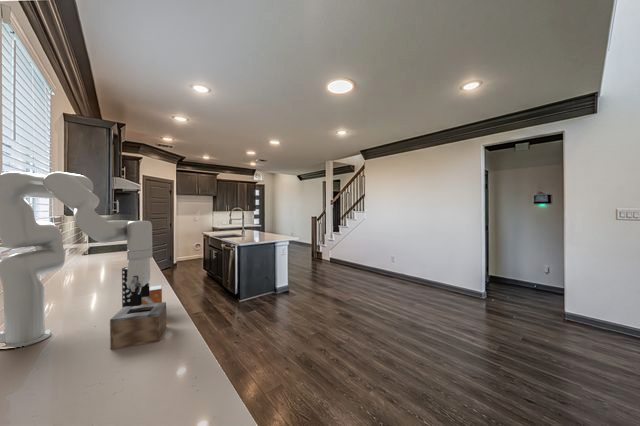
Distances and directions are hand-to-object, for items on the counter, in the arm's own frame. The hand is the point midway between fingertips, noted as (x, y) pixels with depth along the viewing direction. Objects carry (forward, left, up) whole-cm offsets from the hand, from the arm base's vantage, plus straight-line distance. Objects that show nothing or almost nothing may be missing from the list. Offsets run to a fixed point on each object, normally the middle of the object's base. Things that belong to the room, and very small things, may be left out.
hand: (140, 301), depth 92 cm
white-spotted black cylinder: (-11, +31, -14) cm, 36 cm away
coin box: (0, 0, -13) cm, 13 cm away
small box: (-1, +18, -14) cm, 23 cm away
